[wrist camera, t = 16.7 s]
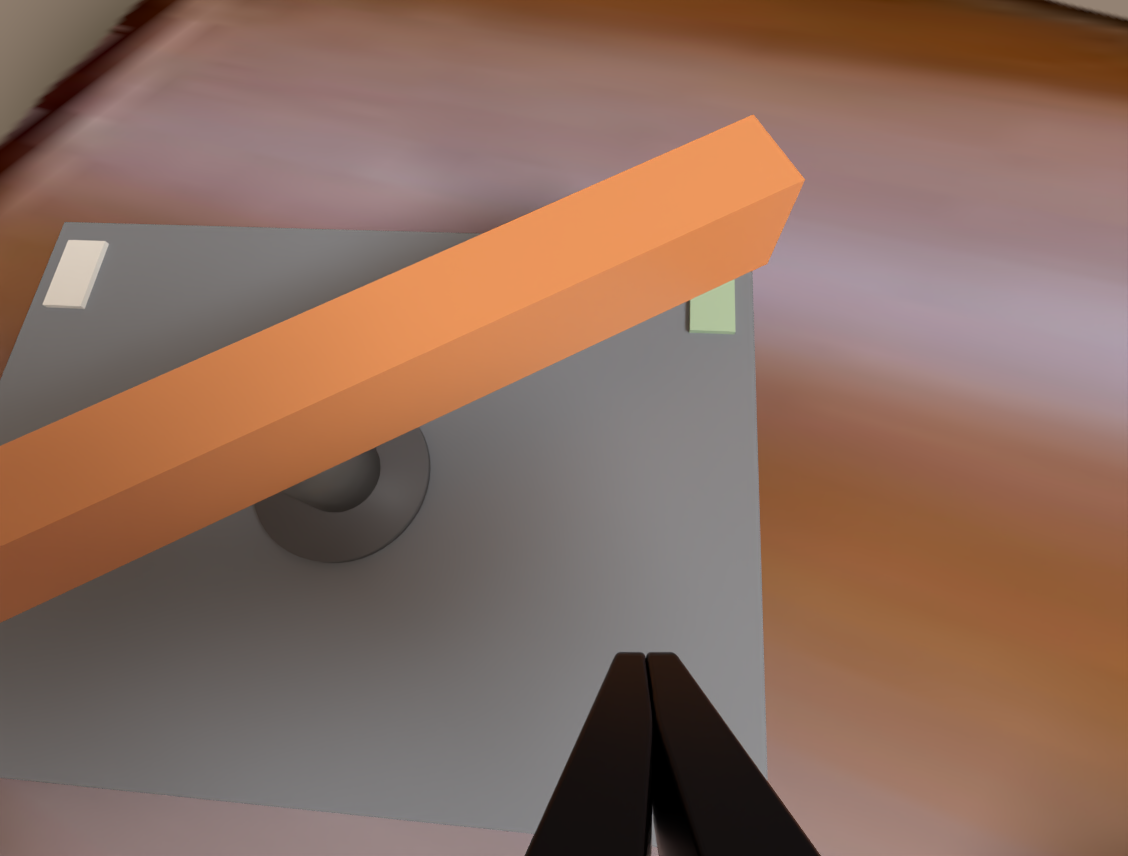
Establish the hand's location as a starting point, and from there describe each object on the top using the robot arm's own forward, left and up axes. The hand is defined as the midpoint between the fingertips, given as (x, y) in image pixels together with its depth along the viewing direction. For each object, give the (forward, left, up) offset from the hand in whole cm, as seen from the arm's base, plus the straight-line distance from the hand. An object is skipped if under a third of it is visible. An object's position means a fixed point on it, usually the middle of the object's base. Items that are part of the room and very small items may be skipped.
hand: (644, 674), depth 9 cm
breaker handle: (+5, +10, -10) cm, 15 cm away
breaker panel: (+5, +10, -13) cm, 17 cm away
